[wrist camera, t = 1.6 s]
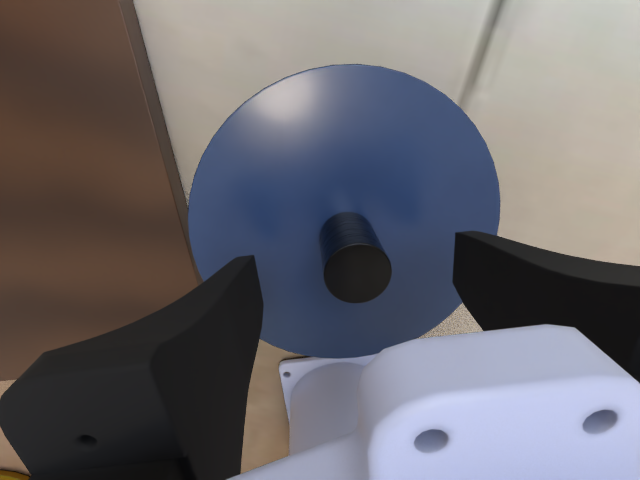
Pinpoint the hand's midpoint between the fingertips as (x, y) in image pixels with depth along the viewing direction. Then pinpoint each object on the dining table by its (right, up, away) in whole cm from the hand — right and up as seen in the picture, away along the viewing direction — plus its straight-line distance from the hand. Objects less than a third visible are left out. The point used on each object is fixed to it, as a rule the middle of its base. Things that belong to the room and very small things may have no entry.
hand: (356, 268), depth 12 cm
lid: (0, +1, +3) cm, 3 cm away
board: (-16, +2, +7) cm, 18 cm away
